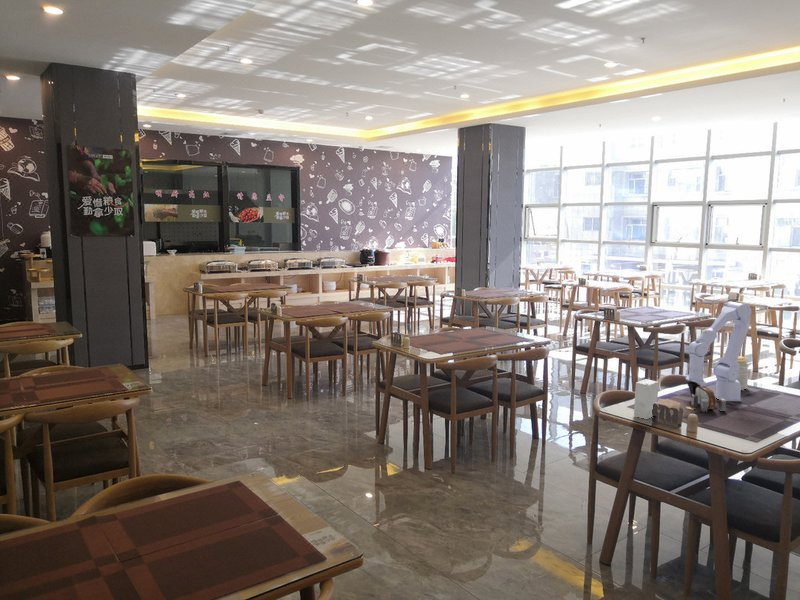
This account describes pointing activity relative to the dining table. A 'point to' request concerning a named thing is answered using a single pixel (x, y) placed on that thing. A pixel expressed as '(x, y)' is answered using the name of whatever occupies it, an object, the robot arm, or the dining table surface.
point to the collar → (696, 399)
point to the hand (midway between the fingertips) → (694, 398)
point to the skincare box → (645, 398)
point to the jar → (742, 372)
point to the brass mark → (691, 408)
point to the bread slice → (706, 396)
